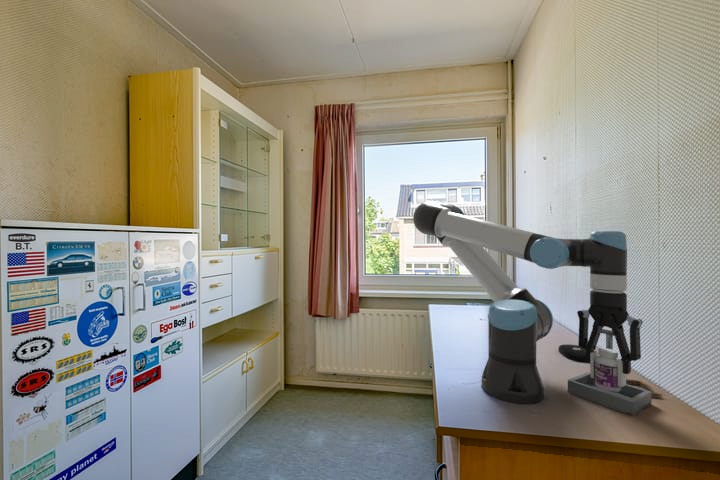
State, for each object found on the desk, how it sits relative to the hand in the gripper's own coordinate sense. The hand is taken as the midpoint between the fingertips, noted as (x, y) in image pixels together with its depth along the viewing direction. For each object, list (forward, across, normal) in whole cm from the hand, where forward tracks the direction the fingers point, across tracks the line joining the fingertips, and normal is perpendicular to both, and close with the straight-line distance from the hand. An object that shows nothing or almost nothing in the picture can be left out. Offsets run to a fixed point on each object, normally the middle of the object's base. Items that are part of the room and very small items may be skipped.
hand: (607, 380), depth 83 cm
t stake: (+4, +7, -19) cm, 21 cm away
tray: (+4, 0, 0) cm, 4 cm away
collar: (+4, -1, -12) cm, 13 cm away
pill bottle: (+2, 0, 0) cm, 2 cm away
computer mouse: (+5, +20, -26) cm, 34 cm away
